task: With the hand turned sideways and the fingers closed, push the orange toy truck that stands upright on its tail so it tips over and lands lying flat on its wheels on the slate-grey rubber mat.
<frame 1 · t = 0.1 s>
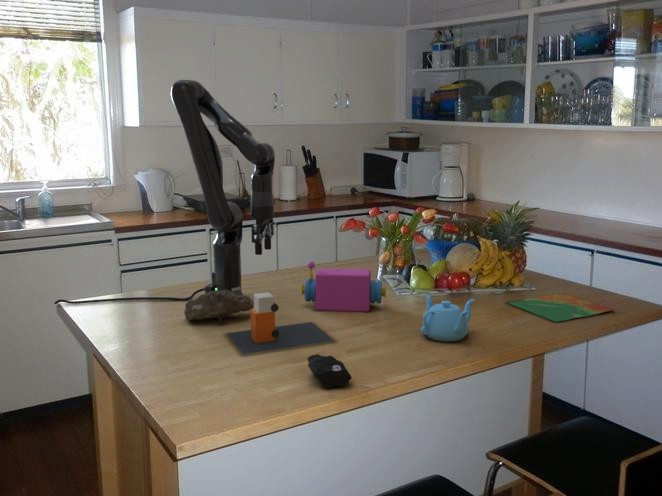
hand: (263, 251, 222), 17 cm above the countertop, tool pointing down, fingers open, 8 cm apart
mat: (279, 338, 189), on the countertop
toy: (343, 307, 218), on the countertop
terrain model: (559, 307, 218), on the countertop
fossil: (221, 321, 205), on the countertop
rock: (326, 382, 158), on the countertop
truck: (263, 339, 186), resting on mat
teapot: (448, 335, 191), on the countertop
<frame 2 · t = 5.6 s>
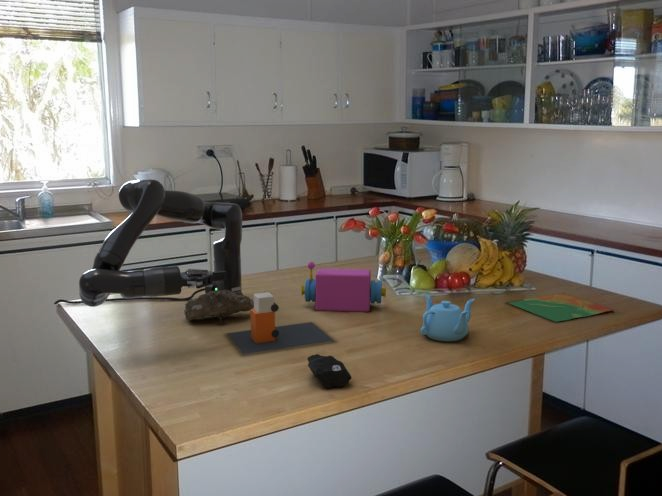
hand: (226, 275, 179), 20 cm above the countertop, tool horizontal, fingers closed
nothing on the countertop moved.
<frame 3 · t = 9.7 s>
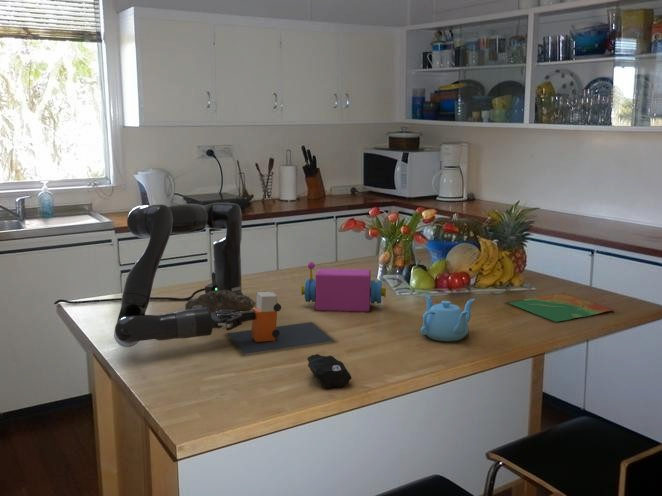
hand: (254, 315, 184), 8 cm above the countertop, tool horizontal, fingers closed
truck: (263, 338, 186), point 1 cm above the countertop, touching gripper, mat
everything else where it was.
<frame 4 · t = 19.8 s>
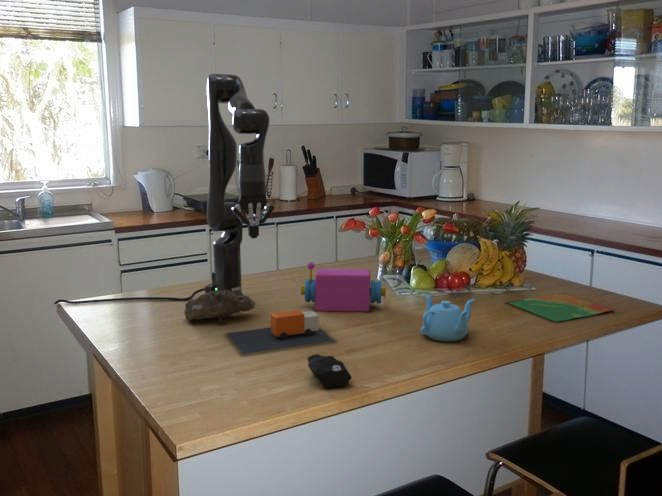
hand: (253, 237, 195), 27 cm above the countertop, tool pointing down, fingers closed
truck: (273, 324, 187), point 4 cm above the countertop, tilted 90°, touching mat
everything else where it was.
at the end: truck tilted 90°; truck touching mat; the gripper is holding nothing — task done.
